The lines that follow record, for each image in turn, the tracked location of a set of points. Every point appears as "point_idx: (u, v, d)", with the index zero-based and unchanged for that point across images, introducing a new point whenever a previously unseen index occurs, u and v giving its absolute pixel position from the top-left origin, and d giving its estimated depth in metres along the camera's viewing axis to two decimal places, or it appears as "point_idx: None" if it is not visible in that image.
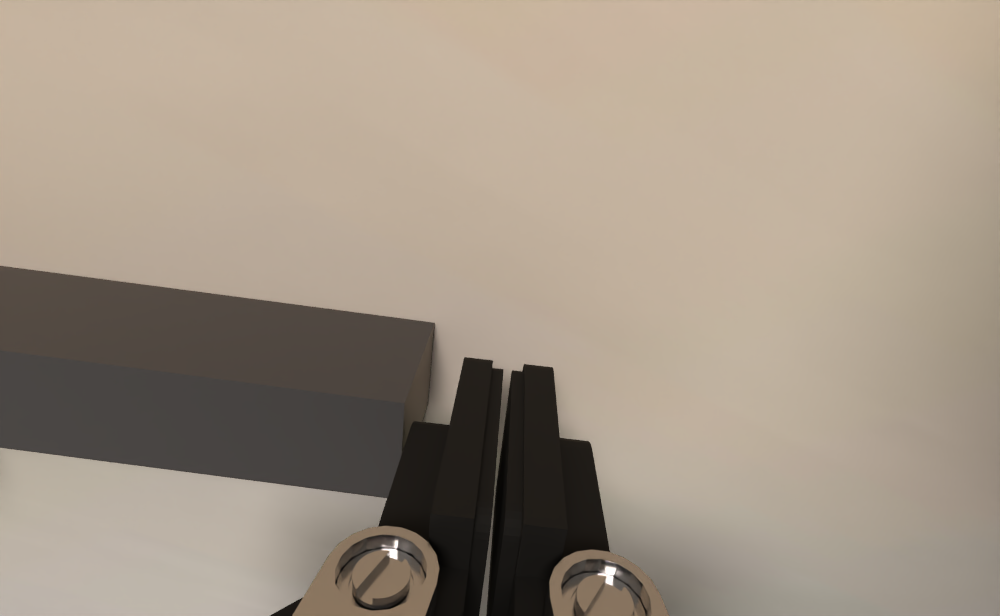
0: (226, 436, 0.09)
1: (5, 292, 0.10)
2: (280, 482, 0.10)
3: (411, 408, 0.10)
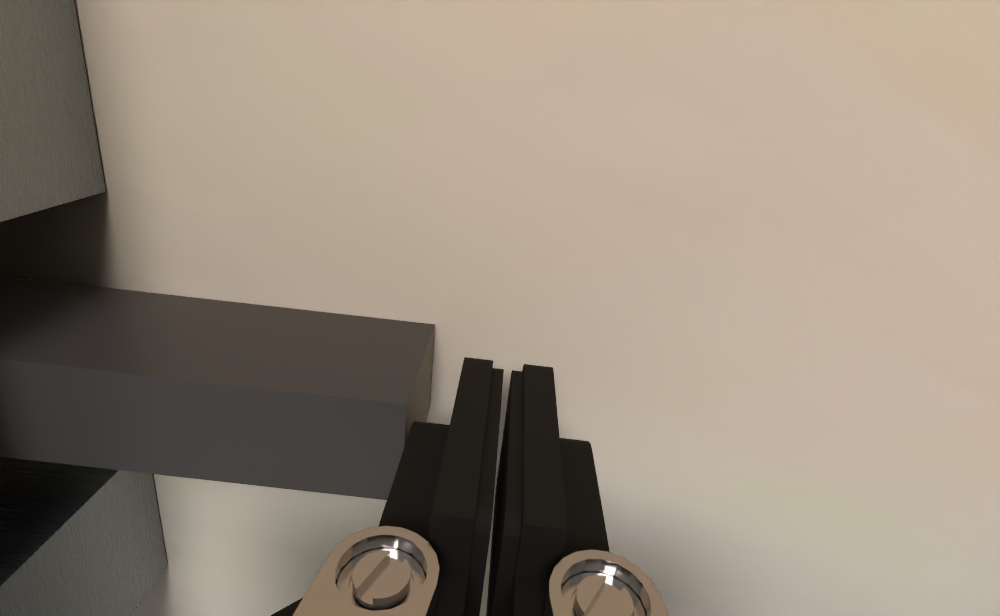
0: (228, 441, 0.09)
1: (6, 302, 0.11)
2: (284, 486, 0.10)
3: (413, 410, 0.10)
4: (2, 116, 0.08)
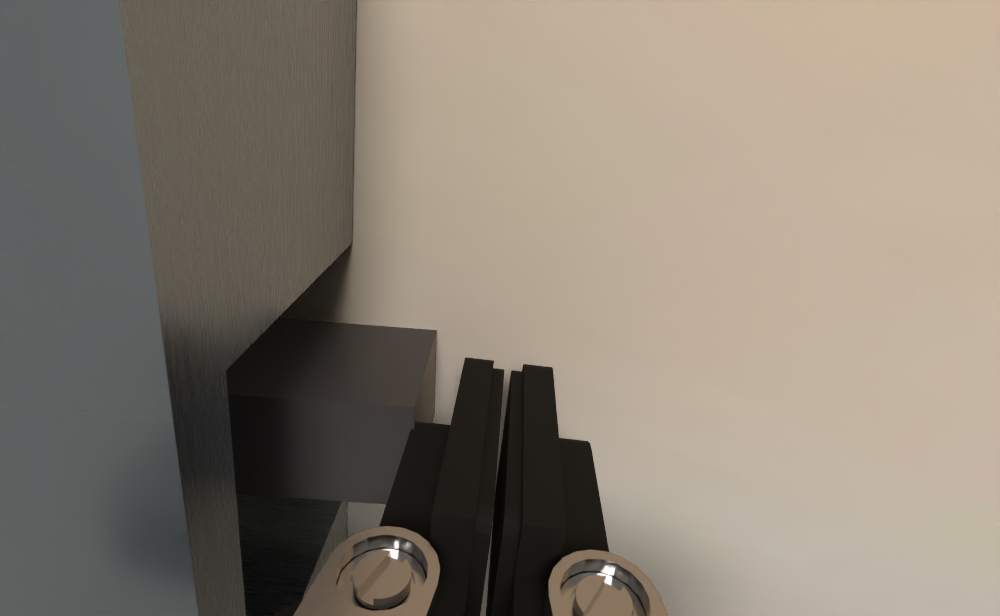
0: (235, 451, 0.09)
1: None
2: (293, 495, 0.10)
3: (420, 413, 0.10)
4: (318, 180, 0.08)
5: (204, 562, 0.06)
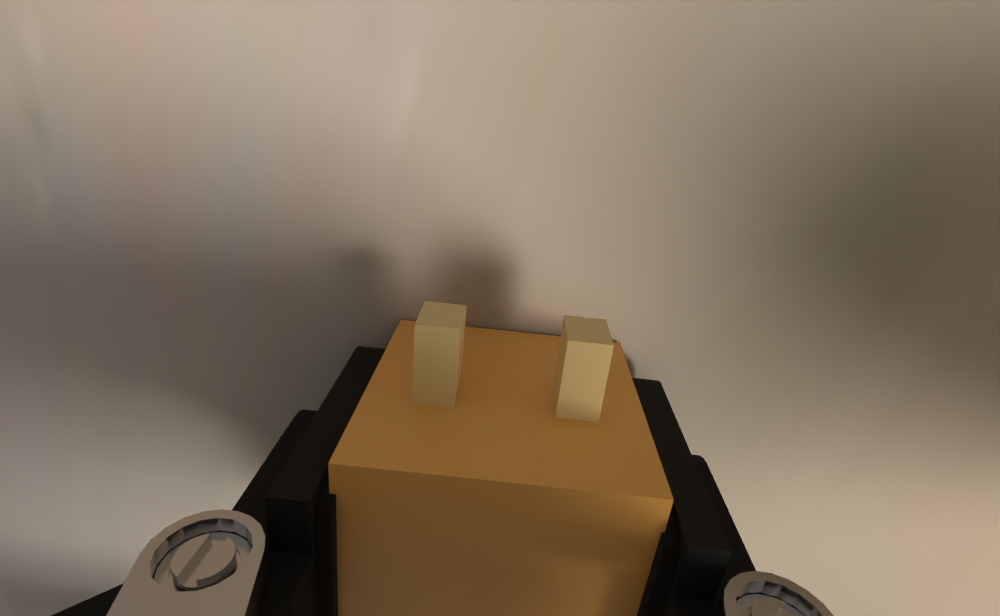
0: None
1: None
2: None
3: None
4: None
5: None
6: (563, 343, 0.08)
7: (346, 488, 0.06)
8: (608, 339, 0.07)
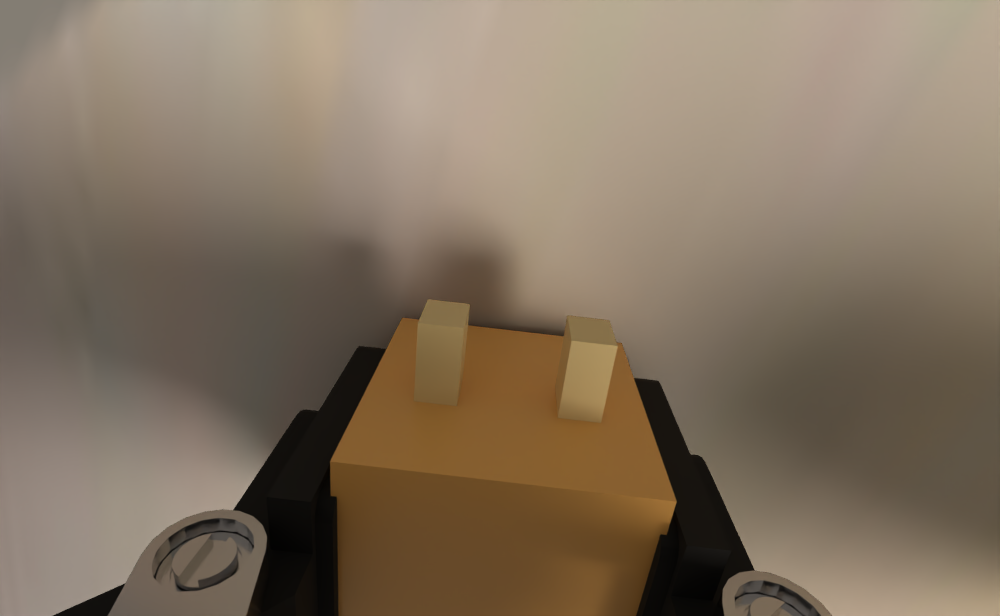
0: None
1: None
2: None
3: None
4: None
5: None
6: (566, 343, 0.08)
7: (348, 487, 0.06)
8: (612, 340, 0.07)
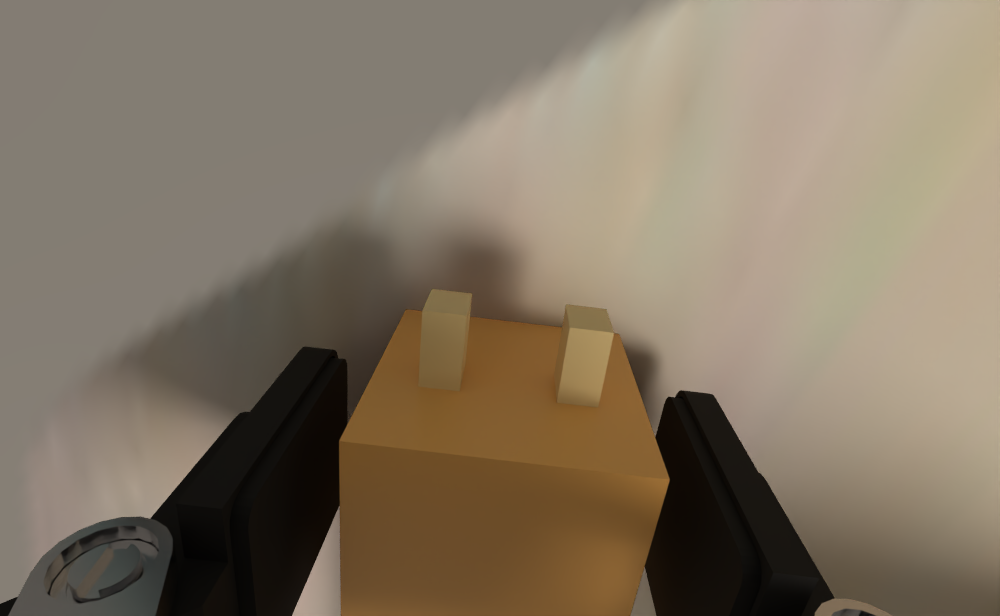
0: None
1: None
2: None
3: None
4: None
5: None
6: (565, 331, 0.08)
7: (356, 465, 0.07)
8: (609, 327, 0.08)
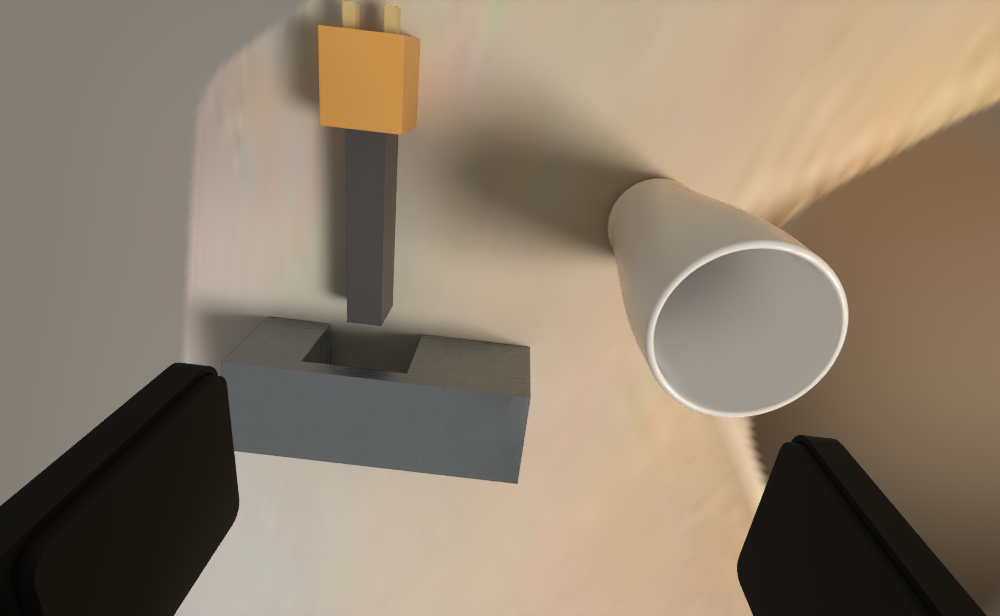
0: (362, 276, 0.31)
1: (392, 181, 0.31)
2: (347, 288, 0.31)
3: None
4: None
5: None
6: None
7: (322, 33, 0.25)
8: (396, 7, 0.26)
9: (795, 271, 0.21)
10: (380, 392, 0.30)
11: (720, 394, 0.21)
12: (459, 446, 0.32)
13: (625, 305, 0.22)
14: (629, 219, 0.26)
